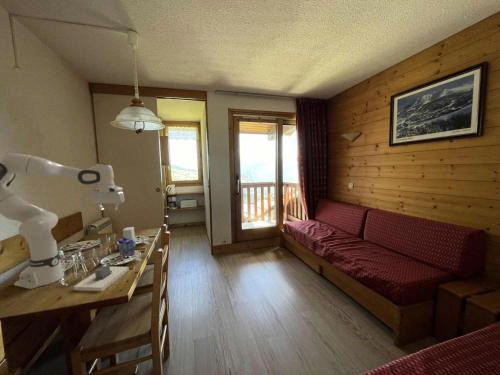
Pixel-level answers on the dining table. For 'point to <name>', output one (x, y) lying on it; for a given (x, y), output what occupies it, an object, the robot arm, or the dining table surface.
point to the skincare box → (129, 234)
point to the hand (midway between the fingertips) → (109, 209)
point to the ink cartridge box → (126, 247)
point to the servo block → (102, 272)
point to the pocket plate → (101, 284)
